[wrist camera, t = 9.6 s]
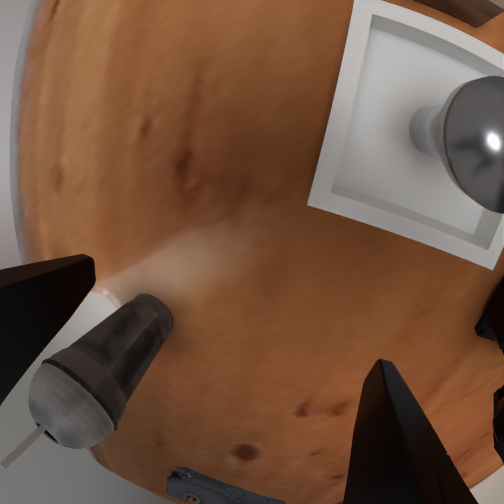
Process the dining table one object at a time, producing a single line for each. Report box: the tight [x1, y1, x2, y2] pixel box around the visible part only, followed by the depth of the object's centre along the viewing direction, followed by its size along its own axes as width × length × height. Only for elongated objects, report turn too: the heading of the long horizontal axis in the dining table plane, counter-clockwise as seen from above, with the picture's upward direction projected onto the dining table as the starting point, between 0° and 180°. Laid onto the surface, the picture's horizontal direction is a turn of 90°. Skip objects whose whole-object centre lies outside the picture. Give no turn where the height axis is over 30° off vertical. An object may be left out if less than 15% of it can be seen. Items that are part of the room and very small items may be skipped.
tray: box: [307, 0, 504, 270], centre depth 14 cm, size 12×12×4 cm
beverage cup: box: [1, 294, 173, 468], centre depth 19 cm, size 7×7×20 cm
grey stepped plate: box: [166, 466, 285, 504], centre depth 43 cm, size 15×22×5 cm
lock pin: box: [409, 76, 504, 214], centre depth 11 cm, size 4×4×9 cm
